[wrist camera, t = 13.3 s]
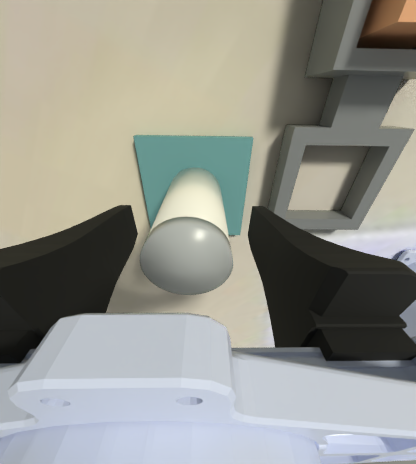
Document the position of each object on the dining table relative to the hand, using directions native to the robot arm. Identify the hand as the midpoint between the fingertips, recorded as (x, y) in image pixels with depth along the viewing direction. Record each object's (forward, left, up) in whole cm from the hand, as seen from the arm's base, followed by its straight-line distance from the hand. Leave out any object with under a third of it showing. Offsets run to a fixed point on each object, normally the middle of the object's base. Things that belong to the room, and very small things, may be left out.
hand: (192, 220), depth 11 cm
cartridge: (0, 0, -4) cm, 4 cm away
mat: (0, 0, -5) cm, 5 cm away
